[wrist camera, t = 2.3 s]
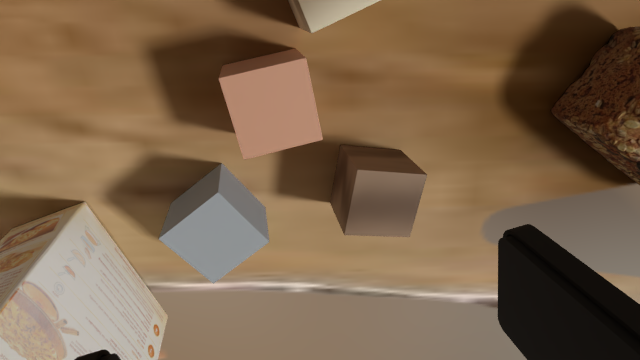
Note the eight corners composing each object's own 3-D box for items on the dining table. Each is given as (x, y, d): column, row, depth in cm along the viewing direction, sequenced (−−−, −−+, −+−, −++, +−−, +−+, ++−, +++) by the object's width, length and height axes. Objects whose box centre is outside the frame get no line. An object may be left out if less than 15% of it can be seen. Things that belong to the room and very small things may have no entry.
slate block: (171, 202, 35) (158, 238, 30) (221, 162, 34) (218, 192, 29) (217, 243, 38) (213, 283, 32) (265, 206, 37) (269, 241, 32)
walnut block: (340, 144, 36) (357, 169, 30) (400, 149, 37) (427, 174, 32) (329, 202, 38) (344, 235, 33) (386, 205, 39) (409, 237, 34)
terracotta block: (222, 65, 31) (218, 78, 26) (295, 48, 32) (306, 57, 26) (243, 134, 34) (243, 159, 28) (310, 118, 34) (322, 139, 29)
